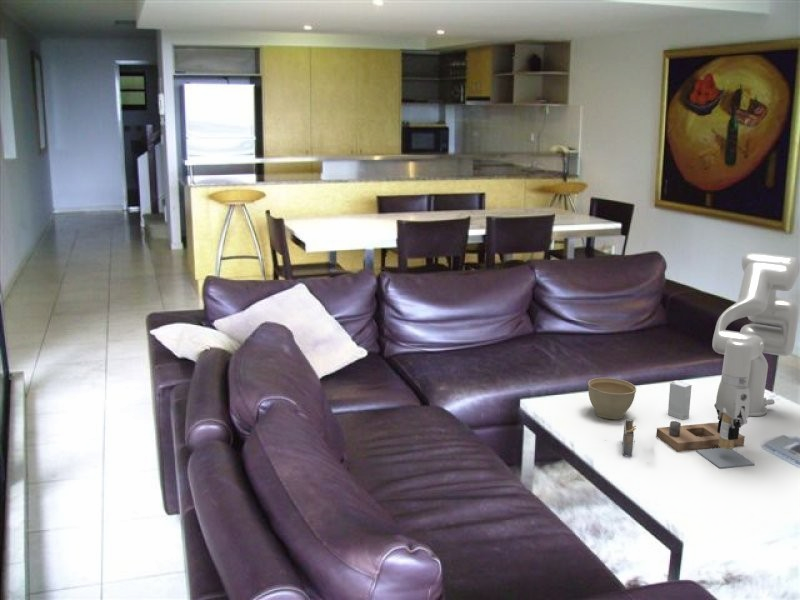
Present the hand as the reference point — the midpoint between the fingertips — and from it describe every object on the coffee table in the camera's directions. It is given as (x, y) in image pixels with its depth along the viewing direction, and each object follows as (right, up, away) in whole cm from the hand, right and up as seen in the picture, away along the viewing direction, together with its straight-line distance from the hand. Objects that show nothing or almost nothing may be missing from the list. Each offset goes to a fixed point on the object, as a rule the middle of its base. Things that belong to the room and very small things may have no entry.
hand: (727, 435), depth 242 cm
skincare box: (-3, +1, +34) cm, 34 cm away
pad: (0, -7, +2) cm, 8 cm away
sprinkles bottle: (0, -4, +1) cm, 4 cm away
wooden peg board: (-3, -4, +14) cm, 15 cm away
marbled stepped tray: (-28, -6, +8) cm, 30 cm away
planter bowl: (-27, +1, +34) cm, 44 cm away
